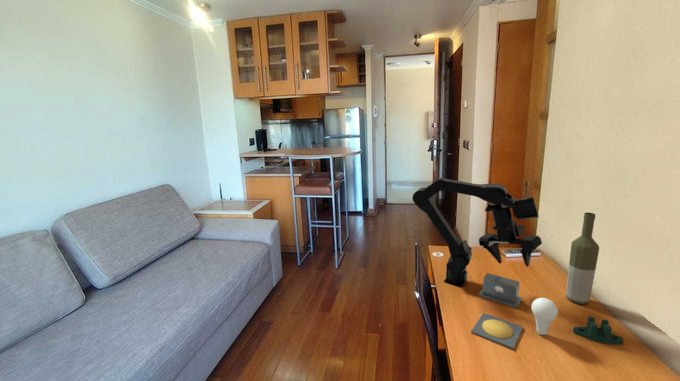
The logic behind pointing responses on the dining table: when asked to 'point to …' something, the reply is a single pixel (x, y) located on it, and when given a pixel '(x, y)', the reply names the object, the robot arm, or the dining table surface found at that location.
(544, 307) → the lightbulb
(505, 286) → the lamp housing
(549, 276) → the dining table surface
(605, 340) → the mount
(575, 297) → the bottle
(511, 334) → the parts mat
